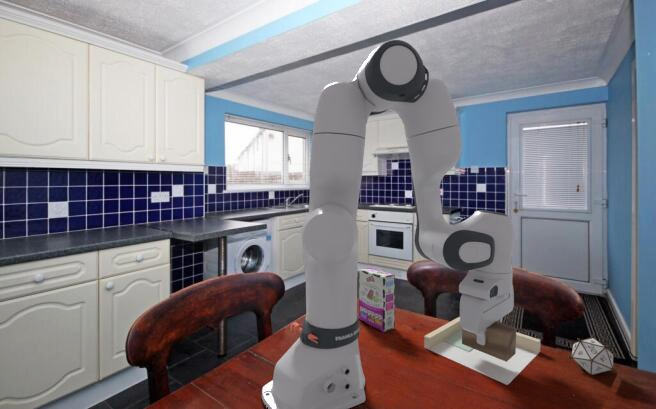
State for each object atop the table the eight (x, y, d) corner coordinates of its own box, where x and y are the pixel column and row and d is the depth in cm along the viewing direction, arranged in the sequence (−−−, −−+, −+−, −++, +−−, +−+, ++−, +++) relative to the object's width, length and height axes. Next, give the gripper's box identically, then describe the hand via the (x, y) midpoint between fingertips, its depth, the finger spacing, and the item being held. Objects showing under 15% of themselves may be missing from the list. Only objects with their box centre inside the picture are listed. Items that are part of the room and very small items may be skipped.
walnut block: (506, 361, 68) (507, 334, 68) (461, 343, 76) (462, 319, 75) (515, 353, 71) (516, 328, 71) (471, 337, 79) (472, 314, 78)
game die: (602, 393, 70) (638, 374, 63) (562, 375, 71) (593, 355, 65) (590, 356, 77) (622, 335, 70) (554, 341, 78) (582, 319, 72)
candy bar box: (395, 328, 94) (396, 274, 93) (384, 333, 91) (384, 277, 90) (369, 315, 103) (369, 266, 102) (358, 319, 100) (358, 269, 99)
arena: (507, 388, 66) (508, 371, 66) (424, 350, 81) (424, 336, 81) (540, 354, 79) (540, 339, 78) (462, 327, 94) (462, 314, 94)
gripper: (495, 269, 81) (493, 321, 82) (454, 286, 68) (453, 348, 69) (522, 275, 77) (520, 330, 78) (484, 294, 64) (482, 360, 64)
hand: (488, 339), depth 73 cm, fingers closed on walnut block, 5 cm apart
